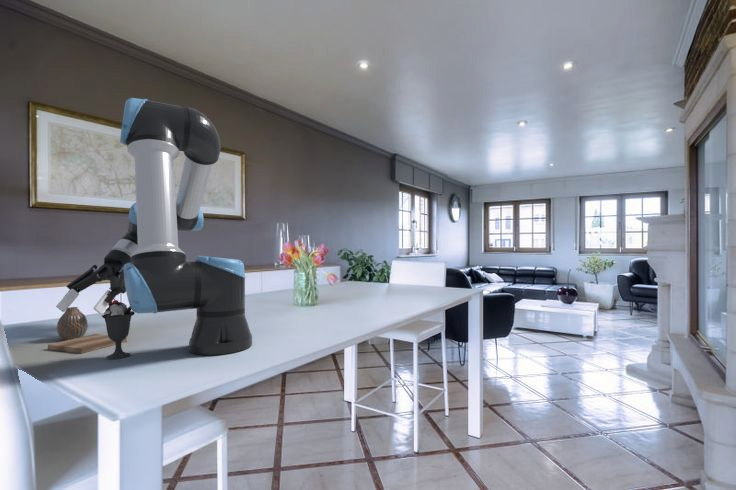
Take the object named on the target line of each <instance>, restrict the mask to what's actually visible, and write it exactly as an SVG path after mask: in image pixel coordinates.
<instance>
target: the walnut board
mask: <svg viewBox="0 0 736 490" xmlns="http://www.w3.org/2000/svg"><path fill="white" fill-rule="evenodd" d="M127 338H128V336H127V337H126V338H125V339H124V340H123V341H122V342H121V344H122V343H126V342H127ZM110 346H116V343H115V342H114V341H112V340H111V339H110V338H109V337H108V334H107V335H106V334H99V333H94V334H93V333H92V334H90V335H84V336H83V337H80V338H75V339H71V340H63V341H62V340H61V341H58V342H54V343H50V344H47V350H49V351H59V352H67V353H74V354H85V353H88V352H92V351H96V350H99V349H103V348H107V347H110Z"/></svg>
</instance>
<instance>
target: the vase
mask: <svg viewBox="0 0 736 490" xmlns="http://www.w3.org/2000/svg"><path fill="white" fill-rule="evenodd" d="M88 325H89V324H88V319H87V317H86V315H85V314H84V313H83V312H82V311H81V310H80V309H79V307H78V306H72V307H70V306H69V307H68V308H67V310H66V311H65V312H63V314H62V315H60V318H59V319H58V321H57V324H56V331H57V332H56V333H57V334H58V337H60V339H62V340H63V341H66V340H71V339H75V338H80V337H84V336H85V334H86V332H87V331H88Z"/></svg>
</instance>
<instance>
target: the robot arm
mask: <svg viewBox="0 0 736 490" xmlns="http://www.w3.org/2000/svg"><path fill="white" fill-rule="evenodd" d="M119 142H120V144H122V145H124V146H126V148H127V153H128V154H129V155H130V156H131V157H133V158H134V172H135V175H134V177H135V179H134V180H135V201H136V202H133V204H131V206H130V208H129V212H128V223H127V227H126V228H127V230H126V232H125V233H124V235H123V236H122V237H121V238H120V239H119V240H118V242H116V243H115V245H114V246H113V247H112V248H111V250H110V251H109V252H108V253H107V254H106V255H105V256H104V257H103V264H102V265H101V266H98V265H97V264H93V265H92V266H91V267H90V268H89V269H88V270H87V271H85V272H83V273H82V274H81V275H80V276H78V277H77V278H75V279H74V280H72V281H71V282H70V283H68V284H66V288H67V289H69V290H68V292H66V294H65V295H64V296H63V298H61V300H60V301H59V302H58V303H57V304H56V305H55V307H56V308H57V309H58V310H59V311H61V312H62V313H65V311H66V310H67V308H70V306H71V305H72V304H73V303H74V302H75V300H76V299H78V296H80V293H81V292H82V291H84V290H86V289H87V288H89V287H92V285H94V284H96V283H100V282H103V281H109V286H110V287H109V289H107V290H106V291H105V292H104V293H103V295H102V296H101V297H100V299H99V300H98V301H97V302H96V303H95V305H94V306H93V307H92V309H93V310H94V311H96V312H97V314H101V315H103V314H102V313H104V312H105V310H106V309H107V308H108V307H109V305H108V304H109V303H110V302H111V298H112V297H113V298H114V299H115V298H116V296H119V295H120V294H122V295H123V294H126V297H127V301H128V304H129V306H130V307H131V311H133V312H135V313H136V314H157V313H163V312H175V311H183V310H185V311H186V310H194V309H195V310H196V320H195V323H194V326H193V329H192V333H191V336H190V338H189V341H188V351H189V352H190V353H192V354H195V355H203V356H215V355H227V354H232V353H236V352H237V353H238V352H241V351H244V350H247V349H248V348H251V346H252V345H253V335H252V333H251V330H250V327H249V324H248V321H247V318H246V292H245V291H246V290H245V289H246V287H245V286H246V280H245V279H246V277H247V276H246V275H245V274H246V273H245V264H244V263H243V261H241V260H240V259H236V258H226V257H225V258H224V257H215V256H206V255H197V256H196V257H195V259H194V260H195V261H187V257H186V252H184V251H183V250H182V249H181V248H180V247H179V235H178V234H179V233H178V232H195V231H196V232H197V231H201V230H202V229H203V227H204V214H203V213H204V212H203V211H202V210H201V207H202V206H201V205H202V204H203V203H202V202H203V199H204V196H205V192H206V189H207V185H208V182H209V179H210V175H211V173H212V169H213V166H214V165H216V163H217V162H218V160H219V158H220V154H221V149H222V147H221V139H220V135H219V133H218V130H217V128H216V127H215V125H214V123H212V120H210V119H209V117H207V116H206V114H204V113H203V112H201V111H199V110H197V109H195V108H192V107H188V106H182V105H181V106H180V105H176V104H169V103H164V102H158V101H153V100H149V99H147V98H144V99H143V98H135V97H130V98H128V99H126V101H125V104H124V111H123V116H122V123H121V131H120V138H119ZM180 152H183V154H184V156H185V159H184V163H183V166H182V167H183V168H182V172H181V177H180V181H179V185H178V190H177V196H176V186H175V185H176V184H175V182H176V181H175V169H174V168H175V167H174V166H175V165H174V161H175V160H176V159H177V158H178V157H179V156H180ZM107 294H110V295H111V296H110V295H109V296H108V295H107ZM113 298H112V301H114V299H113Z"/></svg>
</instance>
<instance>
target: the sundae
mask: <svg viewBox="0 0 736 490" xmlns="http://www.w3.org/2000/svg"><path fill="white" fill-rule="evenodd" d="M107 295H108V296H109V295H110V294H107ZM110 296H111V295H110ZM112 298H113V297H112ZM112 298H111V302H110V303H109V304H108V306H107V307H106V308H105V310H104V311H103V314H101V318H103V319H104V321H105V326H106V333H107V335H108V337H109V338H110V339H111V340H112V341H114V342H115V343H116V344H115V349H114V352H113V353H111V354H110V355H109V354H108V355H107V356H106V357H105V359H106V360H120V359H124V358H128V357H130V356H131V352H126V351H125V352H124V350H123V348H122V343H121V342H122V341H123V340H124V339H125V338H126V337H127V338H128V336H129V333H130V327H131V319H132V317H133V316H134V315H135V313H136V312H134V311H133V310H132V309H131V307H130V305H129V306H127V304H125V303H124V302H122V301H119V300H117V299H115V298H113V300H112Z"/></svg>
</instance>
